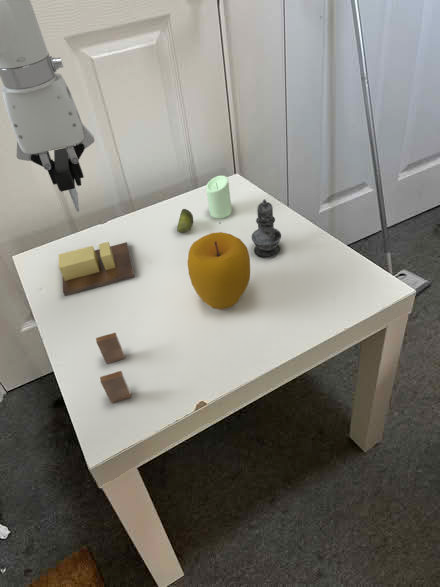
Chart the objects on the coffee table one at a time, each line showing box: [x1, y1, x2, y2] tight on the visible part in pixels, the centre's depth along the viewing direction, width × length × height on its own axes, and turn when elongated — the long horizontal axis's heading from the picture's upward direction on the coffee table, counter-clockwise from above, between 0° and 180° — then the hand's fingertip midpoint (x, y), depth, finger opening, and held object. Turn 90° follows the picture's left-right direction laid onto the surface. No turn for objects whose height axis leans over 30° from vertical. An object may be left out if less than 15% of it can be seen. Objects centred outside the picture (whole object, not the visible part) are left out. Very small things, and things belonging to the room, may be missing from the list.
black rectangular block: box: [53, 147, 80, 213], centre depth 79 cm, size 2×10×8 cm, turn 16°
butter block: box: [58, 245, 100, 281], centre depth 92 cm, size 7×4×4 cm, turn 106°
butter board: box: [61, 241, 136, 297], centre depth 94 cm, size 14×11×1 cm
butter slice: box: [98, 241, 115, 270], centre depth 93 cm, size 2×4×4 cm, turn 16°
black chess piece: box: [251, 199, 282, 260], centre depth 89 cm, size 6×6×12 cm
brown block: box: [95, 332, 132, 404], centre depth 72 cm, size 3×9×6 cm, turn 16°
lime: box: [176, 208, 194, 233], centre depth 99 cm, size 4×5×5 cm
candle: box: [205, 175, 233, 219], centre depth 101 cm, size 5×5×8 cm
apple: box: [187, 231, 251, 310], centre depth 80 cm, size 11×11×13 cm
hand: (70, 183), depth 79 cm, fingers closed on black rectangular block, 2 cm apart
